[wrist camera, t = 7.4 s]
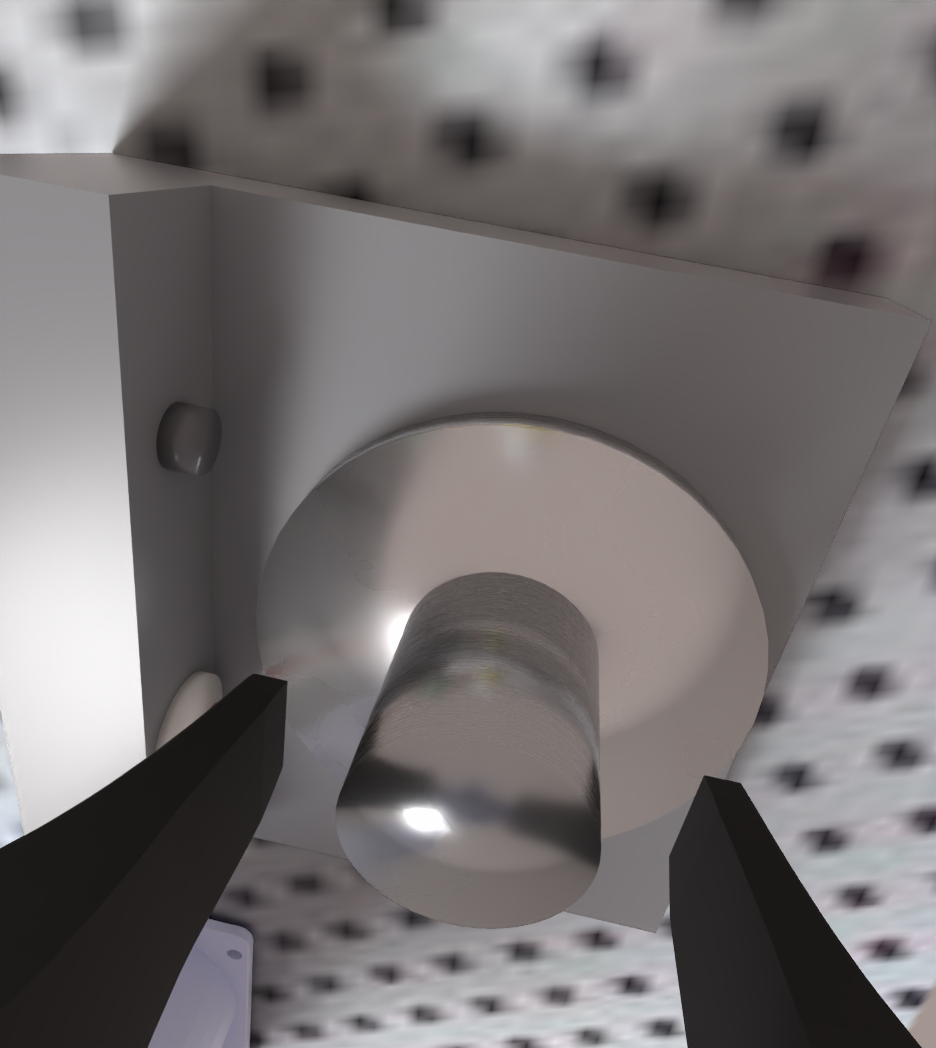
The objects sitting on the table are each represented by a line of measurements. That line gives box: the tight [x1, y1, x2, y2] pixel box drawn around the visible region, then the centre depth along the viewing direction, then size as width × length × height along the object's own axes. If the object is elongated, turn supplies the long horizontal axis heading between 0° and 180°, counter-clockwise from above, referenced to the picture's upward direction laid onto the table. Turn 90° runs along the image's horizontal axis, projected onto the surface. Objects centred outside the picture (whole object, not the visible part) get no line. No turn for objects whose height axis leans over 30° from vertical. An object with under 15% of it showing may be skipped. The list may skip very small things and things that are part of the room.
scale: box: [0, 153, 932, 933], centre depth 15 cm, size 16×15×5 cm
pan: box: [256, 412, 768, 839], centre depth 15 cm, size 10×10×1 cm
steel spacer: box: [335, 572, 601, 929], centre depth 13 cm, size 4×4×4 cm
